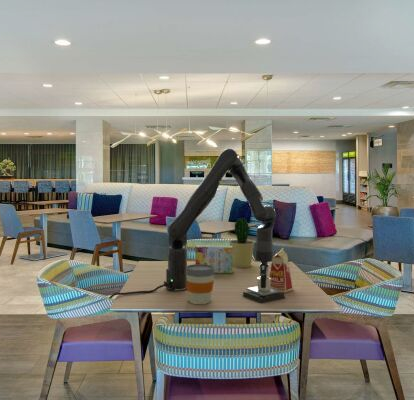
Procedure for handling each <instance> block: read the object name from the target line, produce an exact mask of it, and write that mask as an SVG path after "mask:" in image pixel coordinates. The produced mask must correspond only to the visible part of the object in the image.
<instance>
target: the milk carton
mask: <svg viewBox="0 0 414 400" xmlns="http://www.w3.org/2000/svg"><path fill="white" fill-rule="evenodd" d="M268 277H269V278H271V287H273V288H276V289H279V290H281V293H287V292H289V291H294V288H293V281H292V276H291V270H290V264H289V258H288V253H286V251H285V250H284V247H282V248H281V249H280V250H279V251H278V252H277V253H276V254H275V255H273V260H272V261H271V265H270V271H269V276H268Z"/></svg>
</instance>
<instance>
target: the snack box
mask: <svg viewBox="0 0 414 400" xmlns="http://www.w3.org/2000/svg"><path fill="white" fill-rule="evenodd" d="M194 255H195V256H194V257H195V258H194V259H195V262H194V264H205V265H211V266H213V267H214V274H233V273H234V271H233V270H234V269H233V267H234V266H233V246H230V245H196V246H195V254H194Z"/></svg>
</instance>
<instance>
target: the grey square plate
mask: <svg viewBox="0 0 414 400" xmlns="http://www.w3.org/2000/svg"><path fill="white" fill-rule="evenodd" d="M246 291H251V292H254V293H257V294H260V295H262V296H264V295H269V294H274V293H279V292H281V290H279V289H276V288H273V287H271V288H270V290H267V291H262V290H259V289H258V288H257V285H256V286H251V287H246ZM281 293H282V292H281Z"/></svg>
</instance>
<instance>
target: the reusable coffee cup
mask: <svg viewBox="0 0 414 400" xmlns="http://www.w3.org/2000/svg"><path fill="white" fill-rule="evenodd" d="M185 274H186V277H187V279H186V284H187V289H186V290H187V292H188V301H189V303H191V304H194V305H206V304H209V303H210V302H211V297H212V291H213V288H214V275H215V273H214V267H213V266H211V265H205V264H195V263H193V264H189V265H187V266H186V273H185Z"/></svg>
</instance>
